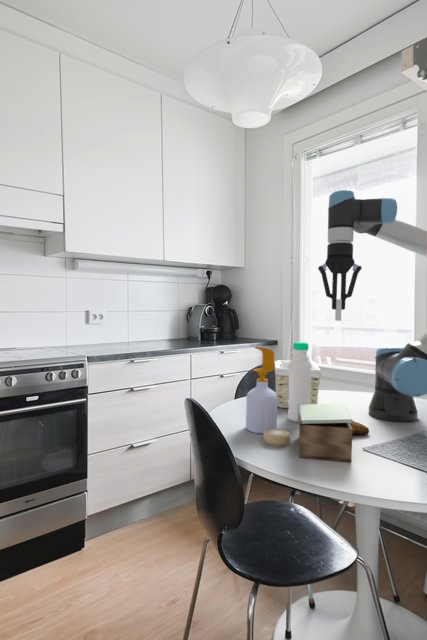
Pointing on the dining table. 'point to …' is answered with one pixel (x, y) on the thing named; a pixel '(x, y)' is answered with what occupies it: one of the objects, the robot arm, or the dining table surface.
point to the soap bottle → (262, 399)
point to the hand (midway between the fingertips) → (338, 320)
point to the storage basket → (283, 382)
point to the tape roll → (276, 437)
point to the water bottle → (299, 380)
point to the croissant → (359, 429)
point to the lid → (323, 413)
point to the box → (326, 441)
